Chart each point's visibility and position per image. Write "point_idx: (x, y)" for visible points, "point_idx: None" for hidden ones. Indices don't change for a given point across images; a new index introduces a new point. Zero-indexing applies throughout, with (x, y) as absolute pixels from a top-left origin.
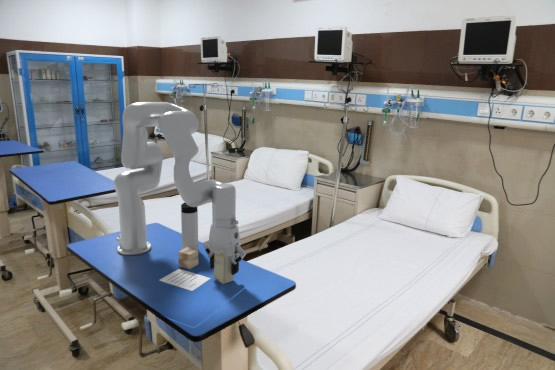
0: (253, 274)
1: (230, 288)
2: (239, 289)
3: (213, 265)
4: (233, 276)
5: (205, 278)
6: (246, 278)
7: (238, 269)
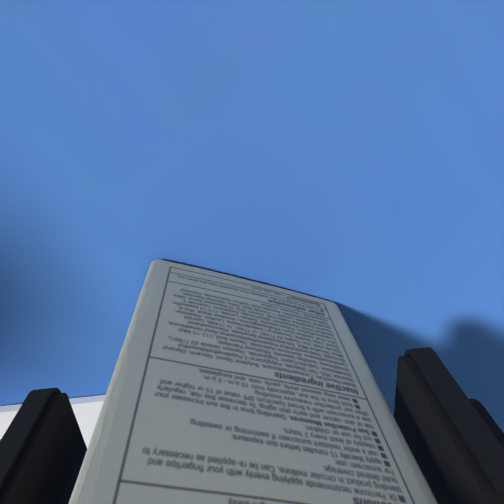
0: (468, 18)
1: (388, 404)
2: (468, 375)
3: (73, 485)
4: (353, 338)
5: (89, 427)
6: (432, 173)
7: (483, 414)
